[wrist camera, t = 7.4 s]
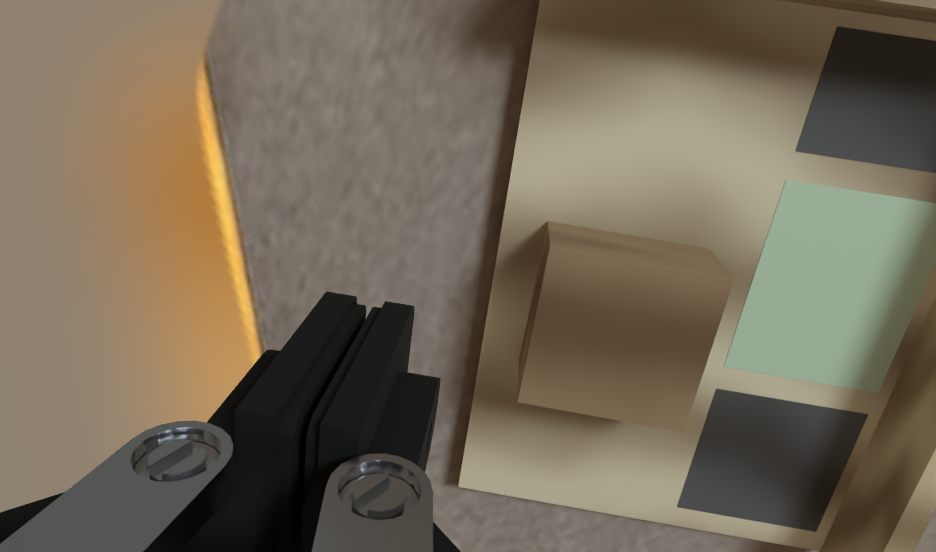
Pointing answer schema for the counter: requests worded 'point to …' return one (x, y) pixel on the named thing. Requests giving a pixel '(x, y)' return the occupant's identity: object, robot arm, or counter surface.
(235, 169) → the counter surface
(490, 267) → the counter surface
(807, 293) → the green pad
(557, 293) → the block
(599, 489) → the board
